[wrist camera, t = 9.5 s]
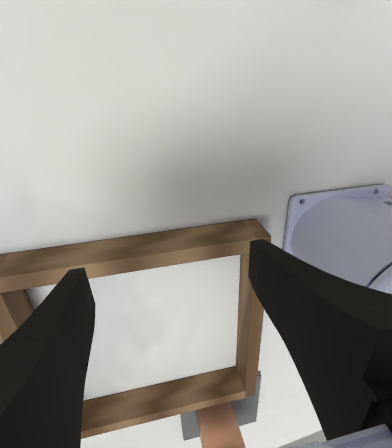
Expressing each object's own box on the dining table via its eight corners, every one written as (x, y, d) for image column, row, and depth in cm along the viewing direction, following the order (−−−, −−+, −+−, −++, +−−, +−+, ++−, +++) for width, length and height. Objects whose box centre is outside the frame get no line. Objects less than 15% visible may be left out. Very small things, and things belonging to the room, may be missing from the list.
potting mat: (258, 371, 34) (260, 375, 34) (254, 416, 39) (255, 421, 39) (177, 390, 33) (178, 395, 32) (183, 435, 38) (183, 440, 37)
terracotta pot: (217, 388, 33) (237, 460, 27) (241, 402, 36) (264, 470, 30) (184, 412, 34) (196, 486, 28) (210, 424, 37) (226, 494, 30)
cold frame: (255, 218, 24) (271, 236, 21) (245, 370, 34) (255, 395, 31) (-170, 278, 19) (-216, 310, 16) (-38, 436, 29) (-54, 472, 26)
